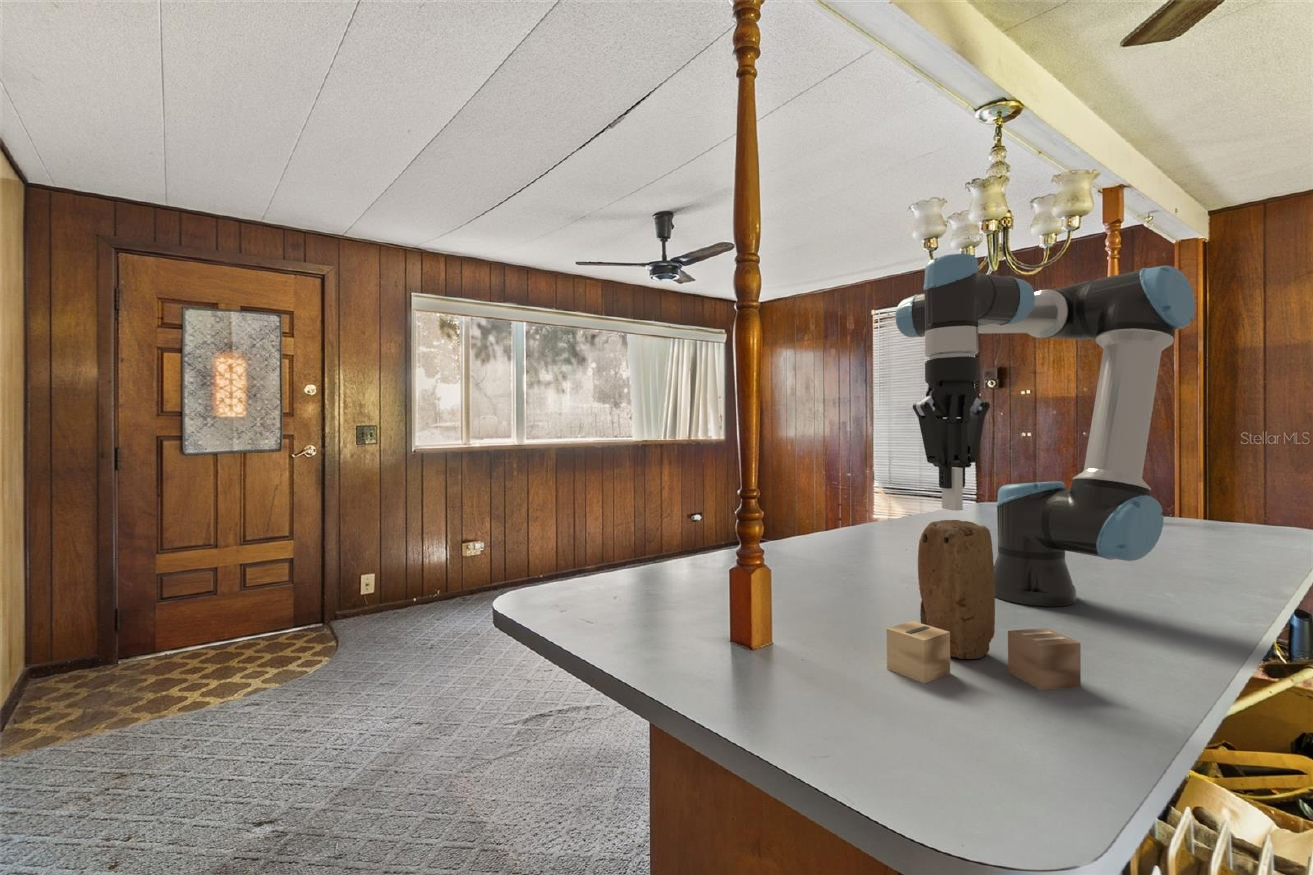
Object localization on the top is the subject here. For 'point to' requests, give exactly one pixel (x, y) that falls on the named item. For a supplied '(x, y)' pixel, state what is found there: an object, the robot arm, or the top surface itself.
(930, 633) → the cube one stripe
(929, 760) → the top surface
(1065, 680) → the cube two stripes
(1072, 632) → the top surface
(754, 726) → the top surface
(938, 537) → the block
